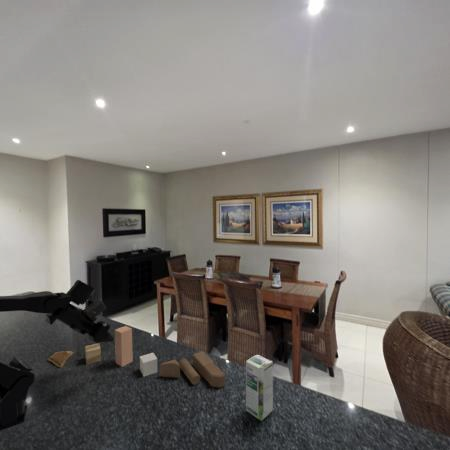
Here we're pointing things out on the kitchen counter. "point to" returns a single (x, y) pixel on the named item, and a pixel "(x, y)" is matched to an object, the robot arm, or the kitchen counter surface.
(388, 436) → the kitchen counter surface
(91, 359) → the honey oak cube
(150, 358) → the grey plastic cube
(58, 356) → the shard
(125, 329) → the terracotta block
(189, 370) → the wooden block set
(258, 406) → the syrup box
